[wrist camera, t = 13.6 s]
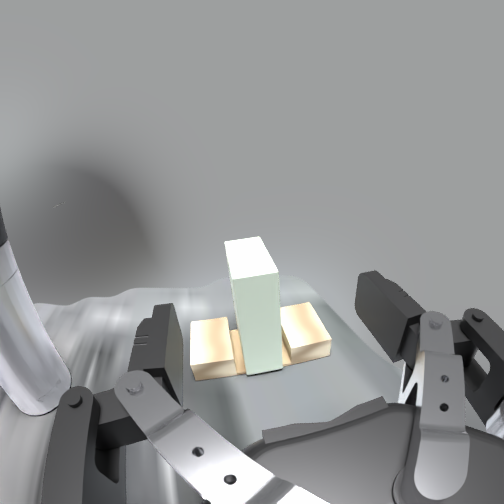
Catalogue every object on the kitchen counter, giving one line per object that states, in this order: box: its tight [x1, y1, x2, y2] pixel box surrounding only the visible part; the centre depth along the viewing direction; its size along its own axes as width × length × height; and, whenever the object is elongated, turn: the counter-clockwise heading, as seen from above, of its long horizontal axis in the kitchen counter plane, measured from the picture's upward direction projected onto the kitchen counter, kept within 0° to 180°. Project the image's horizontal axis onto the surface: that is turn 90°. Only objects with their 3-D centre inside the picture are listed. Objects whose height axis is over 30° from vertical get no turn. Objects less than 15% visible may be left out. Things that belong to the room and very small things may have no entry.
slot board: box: [190, 302, 331, 381], centre depth 29 cm, size 14×7×2 cm, turn 100°
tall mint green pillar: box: [225, 237, 283, 375], centre depth 27 cm, size 4×8×11 cm, turn 9°
